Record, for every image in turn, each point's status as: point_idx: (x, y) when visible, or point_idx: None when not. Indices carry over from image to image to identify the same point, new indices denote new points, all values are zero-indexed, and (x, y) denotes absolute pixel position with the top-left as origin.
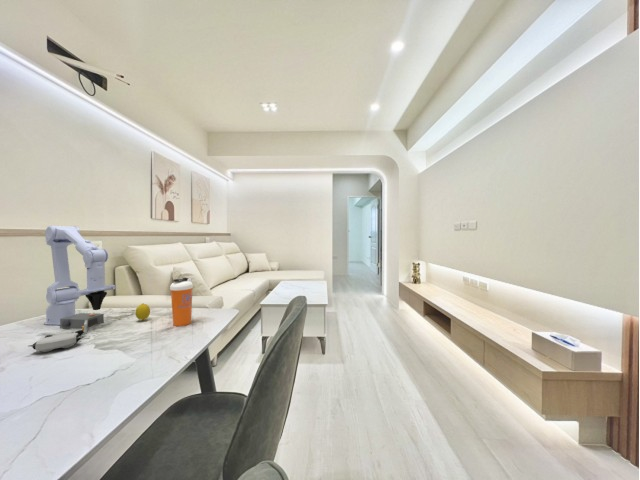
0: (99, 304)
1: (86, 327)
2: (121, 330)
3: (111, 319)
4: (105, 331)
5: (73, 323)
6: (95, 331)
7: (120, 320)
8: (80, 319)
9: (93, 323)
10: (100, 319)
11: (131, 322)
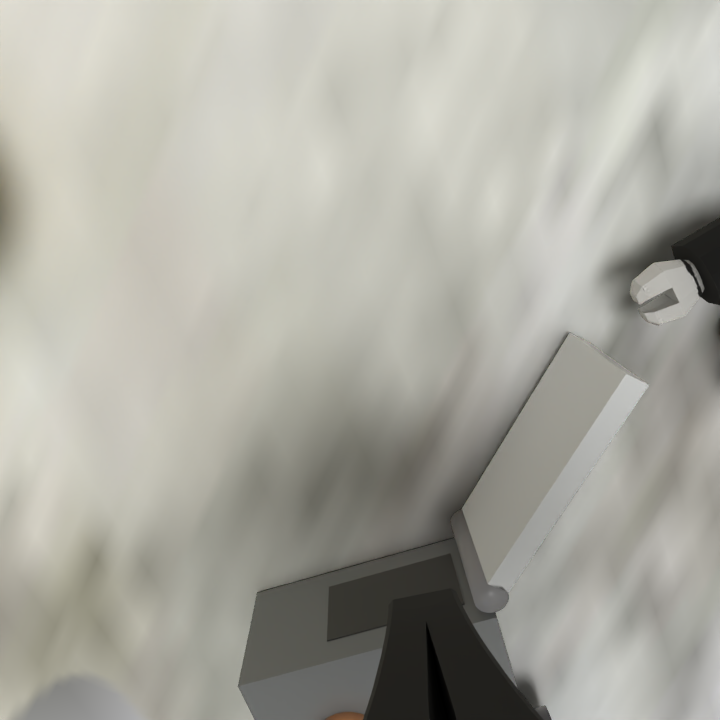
0: (428, 669)
1: (594, 366)
2: (313, 17)
3: (154, 635)
4: (426, 209)
5: None
6: (472, 336)
7: (112, 504)
8: (511, 673)
9: (376, 582)
10: (288, 622)
11: (66, 276)
